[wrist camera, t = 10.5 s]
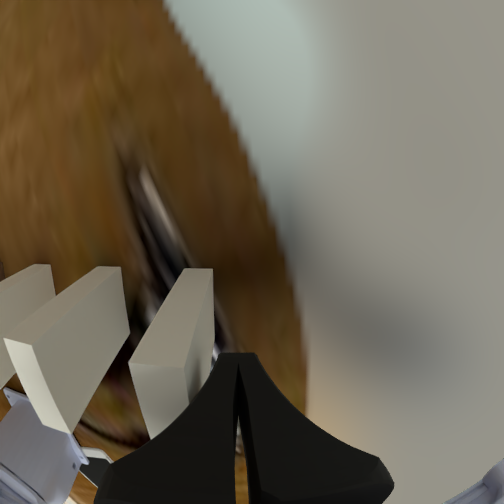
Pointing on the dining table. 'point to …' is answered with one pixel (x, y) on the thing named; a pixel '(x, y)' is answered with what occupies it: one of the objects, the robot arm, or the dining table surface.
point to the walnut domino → (1, 272)
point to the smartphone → (95, 464)
